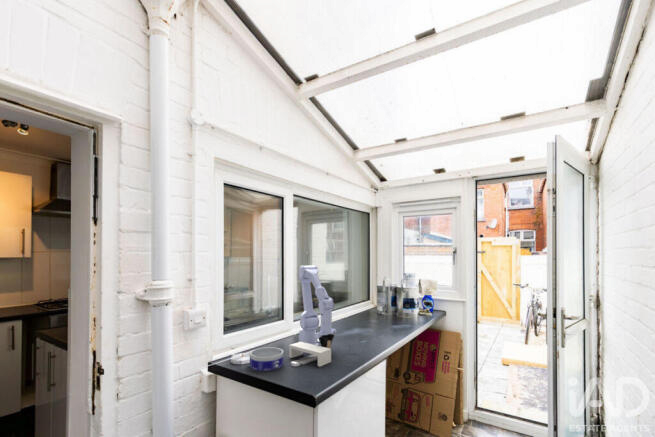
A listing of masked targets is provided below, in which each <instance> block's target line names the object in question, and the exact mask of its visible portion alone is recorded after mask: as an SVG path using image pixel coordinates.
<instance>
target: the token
mask: <svg viewBox="0 0 655 437" xmlns="http://www.w3.org/2000/svg"><path fill="white" fill-rule="evenodd" d="M301 365H302V364H301V362H300V361H296V360H292V361H290V366H291V367H295V368H297V367H300V366H301Z"/></svg>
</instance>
